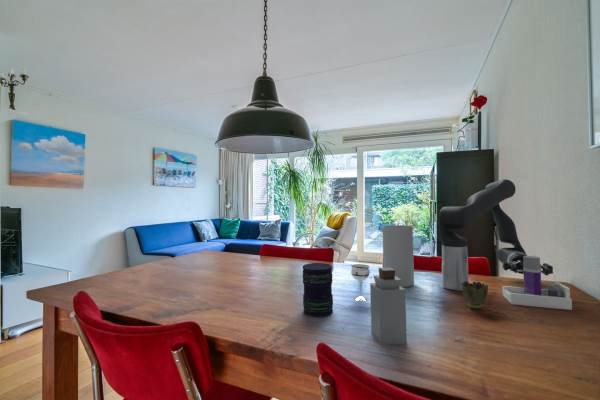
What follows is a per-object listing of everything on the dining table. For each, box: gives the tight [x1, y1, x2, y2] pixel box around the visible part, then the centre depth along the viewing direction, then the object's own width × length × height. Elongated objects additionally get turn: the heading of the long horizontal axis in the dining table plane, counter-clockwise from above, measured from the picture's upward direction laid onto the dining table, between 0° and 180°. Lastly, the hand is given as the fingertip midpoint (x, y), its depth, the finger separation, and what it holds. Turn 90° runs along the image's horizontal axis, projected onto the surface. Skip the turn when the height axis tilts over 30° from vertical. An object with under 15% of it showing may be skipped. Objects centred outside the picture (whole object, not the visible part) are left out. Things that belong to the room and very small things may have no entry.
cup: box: [462, 281, 489, 310], centre depth 93 cm, size 8×7×8 cm
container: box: [522, 255, 542, 296], centre depth 98 cm, size 5×5×15 cm
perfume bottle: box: [369, 267, 408, 346], centre depth 73 cm, size 7×7×18 cm
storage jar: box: [302, 262, 334, 318], centre depth 92 cm, size 10×10×15 cm
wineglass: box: [350, 263, 371, 302], centre depth 104 cm, size 7×7×12 cm
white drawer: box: [502, 281, 573, 311], centre depth 97 cm, size 16×10×6 cm, turn 68°
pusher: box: [547, 283, 562, 297], centre depth 95 cm, size 1×7×5 cm, turn 158°
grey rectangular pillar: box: [381, 224, 415, 288], centre depth 123 cm, size 12×12×25 cm
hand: (531, 271), depth 98 cm, fingers open, 8 cm apart
